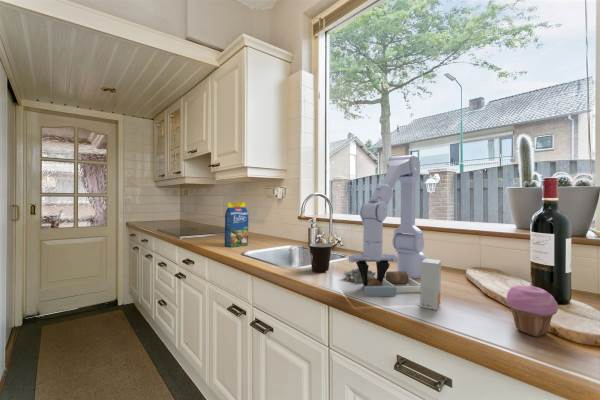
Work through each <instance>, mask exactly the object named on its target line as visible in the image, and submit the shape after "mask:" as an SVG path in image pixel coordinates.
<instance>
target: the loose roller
mask: <svg viewBox="0 0 600 400" xmlns="http://www.w3.org/2000/svg"><path fill="white" fill-rule="evenodd" d="M367 286H383V284H381V282H380V281H378V280H377V277H376V278H375V276H374V277H373V276H371V275H367Z"/></svg>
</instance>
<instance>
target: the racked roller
mask: <svg viewBox="0 0 600 400" xmlns="http://www.w3.org/2000/svg"><path fill="white" fill-rule="evenodd" d="M385 276H386V280H387V281H388V282H390V283H391V284H407V283H408V280H409V278H408V274H407V272H406V271H397V270H396V271H394V270H393V271H386V273H385Z"/></svg>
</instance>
